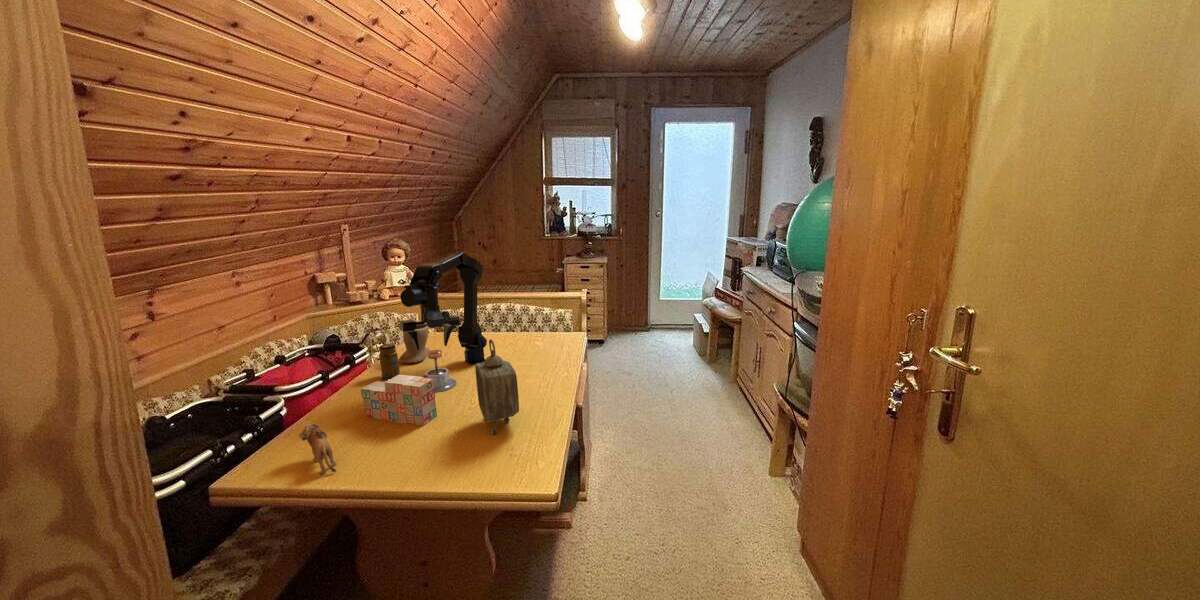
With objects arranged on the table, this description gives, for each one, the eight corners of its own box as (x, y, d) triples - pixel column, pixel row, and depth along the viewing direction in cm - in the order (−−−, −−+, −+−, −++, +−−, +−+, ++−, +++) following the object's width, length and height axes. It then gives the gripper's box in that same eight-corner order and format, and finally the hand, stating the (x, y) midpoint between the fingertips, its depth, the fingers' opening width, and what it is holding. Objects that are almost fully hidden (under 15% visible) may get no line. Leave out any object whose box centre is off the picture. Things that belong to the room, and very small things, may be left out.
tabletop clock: (479, 416, 140) (472, 335, 135) (510, 410, 144) (503, 331, 138) (488, 439, 127) (480, 350, 122) (521, 431, 131) (515, 344, 125)
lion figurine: (301, 458, 121) (294, 426, 119) (323, 449, 125) (317, 418, 123) (325, 478, 112) (318, 444, 110) (348, 468, 116) (342, 434, 114)
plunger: (441, 370, 167) (438, 348, 165) (446, 374, 163) (444, 351, 161) (427, 374, 164) (425, 351, 162) (432, 377, 160) (430, 355, 158)
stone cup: (427, 364, 186) (422, 327, 182) (396, 366, 185) (390, 329, 182) (437, 351, 200) (433, 317, 197) (408, 353, 200) (404, 318, 196)
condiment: (398, 371, 179) (394, 341, 176) (405, 377, 173) (401, 346, 170) (377, 376, 175) (373, 345, 172) (384, 383, 168) (379, 351, 165)
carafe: (444, 378, 169) (443, 366, 168) (453, 384, 164) (451, 372, 163) (415, 386, 163) (414, 373, 162) (423, 393, 157) (421, 380, 156)
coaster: (448, 376, 173) (448, 375, 172) (462, 385, 163) (461, 384, 163) (415, 385, 165) (415, 384, 165) (427, 395, 156) (427, 394, 156)
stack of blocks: (364, 417, 142) (358, 379, 140) (380, 408, 148) (374, 371, 146) (424, 426, 136) (419, 386, 133) (437, 416, 142) (433, 377, 139)
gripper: (405, 308, 147) (409, 357, 150) (464, 302, 158) (467, 348, 160) (397, 303, 156) (400, 350, 159) (454, 299, 167) (456, 342, 169)
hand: (431, 347), depth 161 cm, fingers open, 9 cm apart
